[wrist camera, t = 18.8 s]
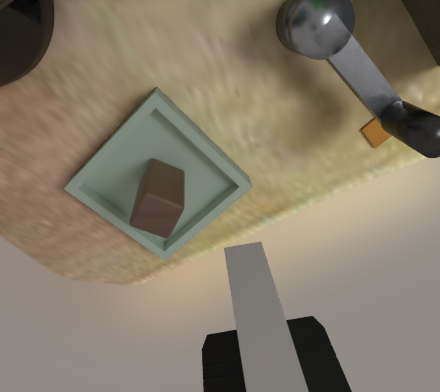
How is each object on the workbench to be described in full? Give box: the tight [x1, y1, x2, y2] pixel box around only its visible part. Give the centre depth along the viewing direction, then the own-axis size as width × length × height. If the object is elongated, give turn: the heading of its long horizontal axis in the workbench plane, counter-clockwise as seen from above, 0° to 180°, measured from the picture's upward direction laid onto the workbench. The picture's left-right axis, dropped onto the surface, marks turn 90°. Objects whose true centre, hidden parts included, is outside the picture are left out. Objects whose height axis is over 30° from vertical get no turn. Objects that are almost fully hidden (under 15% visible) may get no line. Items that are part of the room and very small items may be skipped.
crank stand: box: [276, 0, 440, 148], centre depth 28 cm, size 23×16×10 cm
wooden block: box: [129, 158, 185, 238], centre depth 34 cm, size 4×4×8 cm
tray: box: [64, 87, 253, 261], centre depth 37 cm, size 14×14×2 cm
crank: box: [288, 0, 440, 158], centre depth 27 cm, size 15×5×7 cm, turn 47°
